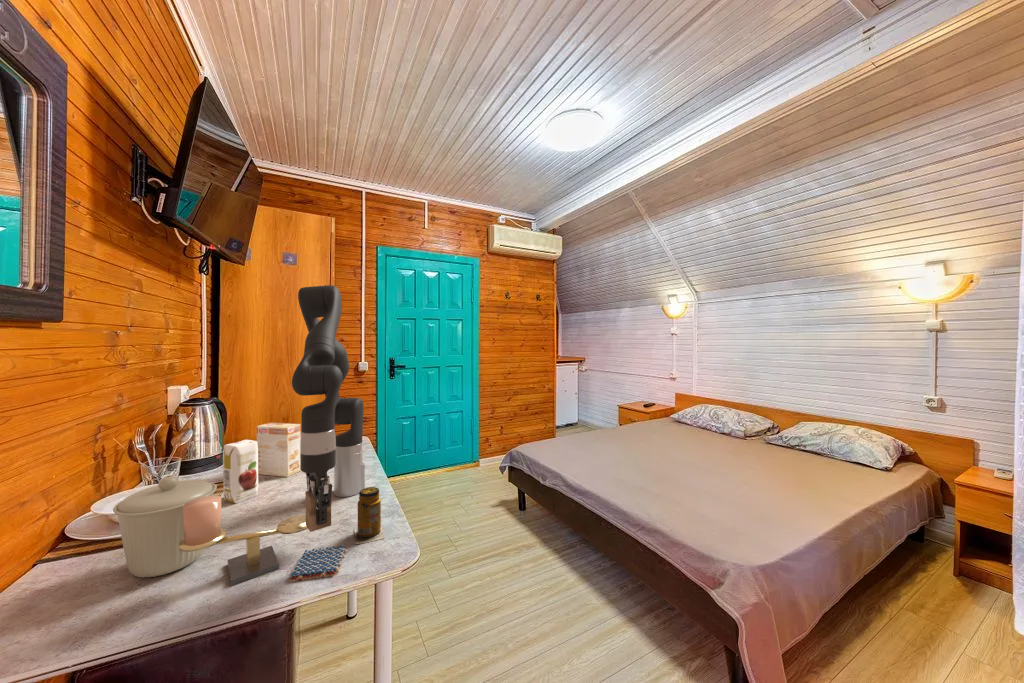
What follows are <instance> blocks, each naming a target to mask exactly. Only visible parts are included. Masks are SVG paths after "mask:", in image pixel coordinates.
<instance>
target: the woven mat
mask: <svg viewBox="0 0 1024 683" xmlns="http://www.w3.org/2000/svg"><path fill="white" fill-rule="evenodd" d="M347 552H348V549H346V546H345V545H344V546H342V545H339V547H338V546H337V547H336V546H333V547H330V548H329V547H328V546H327V547H325V548H322V547H320V548H319V549H315V548H312V550H308V549H305V550H304V552H303V553H301V556H300V557H299V560H298V561H296V562H297V563H296V564H295V566H294V567H293V569H292V571H291V573H290V576H289V577H290V580H289V582H297V581H304V580H310V579H311V580H312V579H318V578H326V577H332V576H333V577H334V576H338V575H339V573H338V572H339V571H340V569H341V566H342V565H343V564H342V561H343V558H346V557H345V556H346V553H347Z"/></svg>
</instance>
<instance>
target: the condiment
mask: <svg viewBox="0 0 1024 683" xmlns="http://www.w3.org/2000/svg"><path fill="white" fill-rule="evenodd" d="M358 496H359V497H358V501H357V528H355V529H353V530H354V531H353V532H354V542H355V545H358V544H359V545H360V544H364V543H365V544H366V543H367V544H368V543H370V542H375V541H380V540H382V539H385V538H386V537H385V534H384V530H383V526H382V522H381V521H382V519H381V518H382V515H381V514H382V513H381V512H382V511H381V507H382V504H381V502H382V501H381V498H380V489H379V488H378V487H377V486H369V487H365V488H364V489H362V490H361V491H360V492H359V493H358ZM377 535H378V536H377Z"/></svg>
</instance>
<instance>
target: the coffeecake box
mask: <svg viewBox="0 0 1024 683" xmlns="http://www.w3.org/2000/svg"><path fill="white" fill-rule="evenodd" d="M300 440H301V423H283V422H267V423H263V424H259V425H257V426H256V441H257V445H258V475H263V476H273V477H284V478H289V477H291V476H293V475H295V473H296V474H298V473H299V471H300V472H302V471H301V470H300ZM297 472H298V473H297Z"/></svg>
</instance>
